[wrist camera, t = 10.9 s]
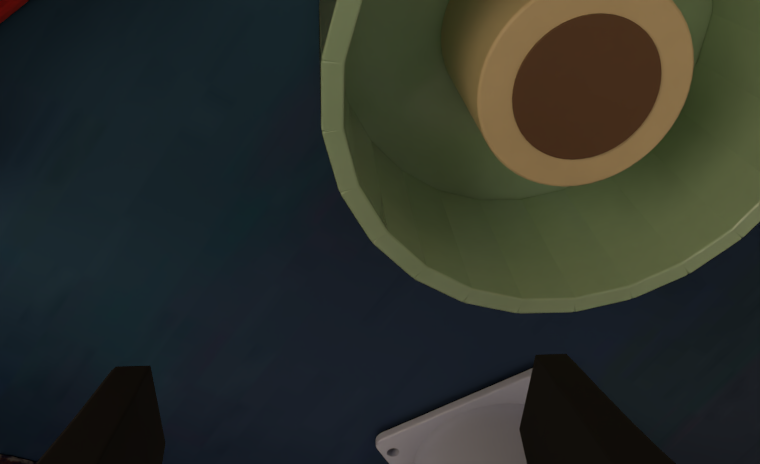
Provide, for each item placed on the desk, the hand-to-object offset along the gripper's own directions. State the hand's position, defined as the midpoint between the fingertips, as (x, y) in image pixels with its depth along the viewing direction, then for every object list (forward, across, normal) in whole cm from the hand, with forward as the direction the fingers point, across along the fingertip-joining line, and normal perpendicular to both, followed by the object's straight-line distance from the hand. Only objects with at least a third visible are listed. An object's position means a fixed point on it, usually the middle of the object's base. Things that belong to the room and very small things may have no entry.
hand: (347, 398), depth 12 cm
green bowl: (+10, -6, -4) cm, 13 cm away
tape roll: (+10, -6, -4) cm, 12 cm away
